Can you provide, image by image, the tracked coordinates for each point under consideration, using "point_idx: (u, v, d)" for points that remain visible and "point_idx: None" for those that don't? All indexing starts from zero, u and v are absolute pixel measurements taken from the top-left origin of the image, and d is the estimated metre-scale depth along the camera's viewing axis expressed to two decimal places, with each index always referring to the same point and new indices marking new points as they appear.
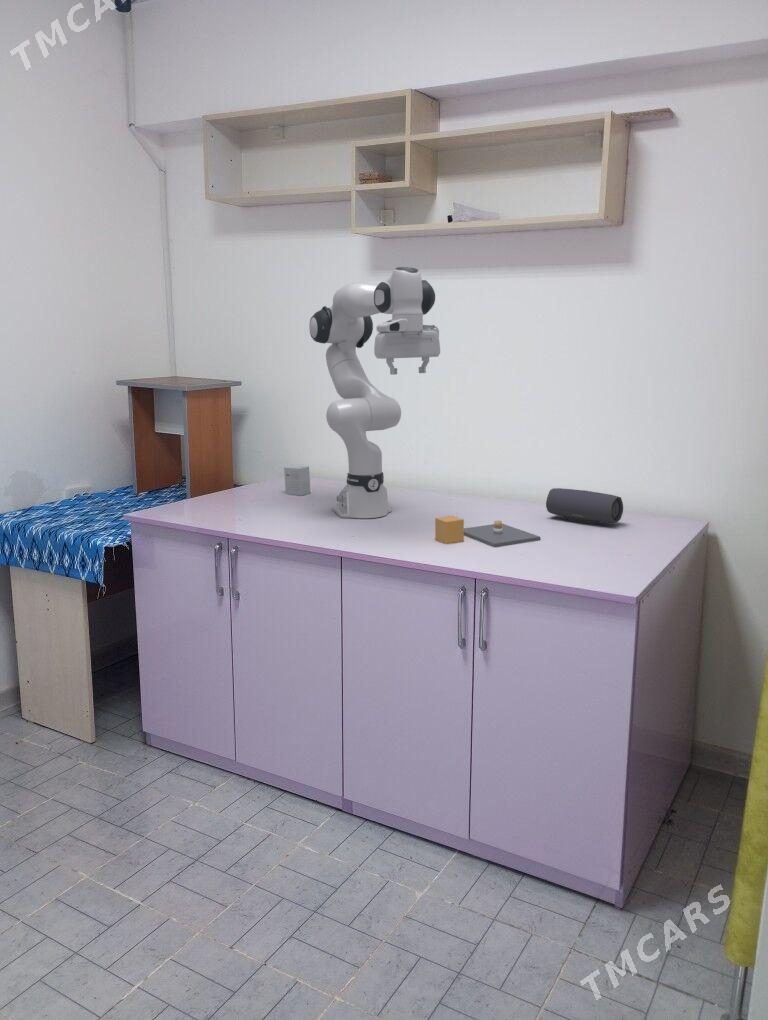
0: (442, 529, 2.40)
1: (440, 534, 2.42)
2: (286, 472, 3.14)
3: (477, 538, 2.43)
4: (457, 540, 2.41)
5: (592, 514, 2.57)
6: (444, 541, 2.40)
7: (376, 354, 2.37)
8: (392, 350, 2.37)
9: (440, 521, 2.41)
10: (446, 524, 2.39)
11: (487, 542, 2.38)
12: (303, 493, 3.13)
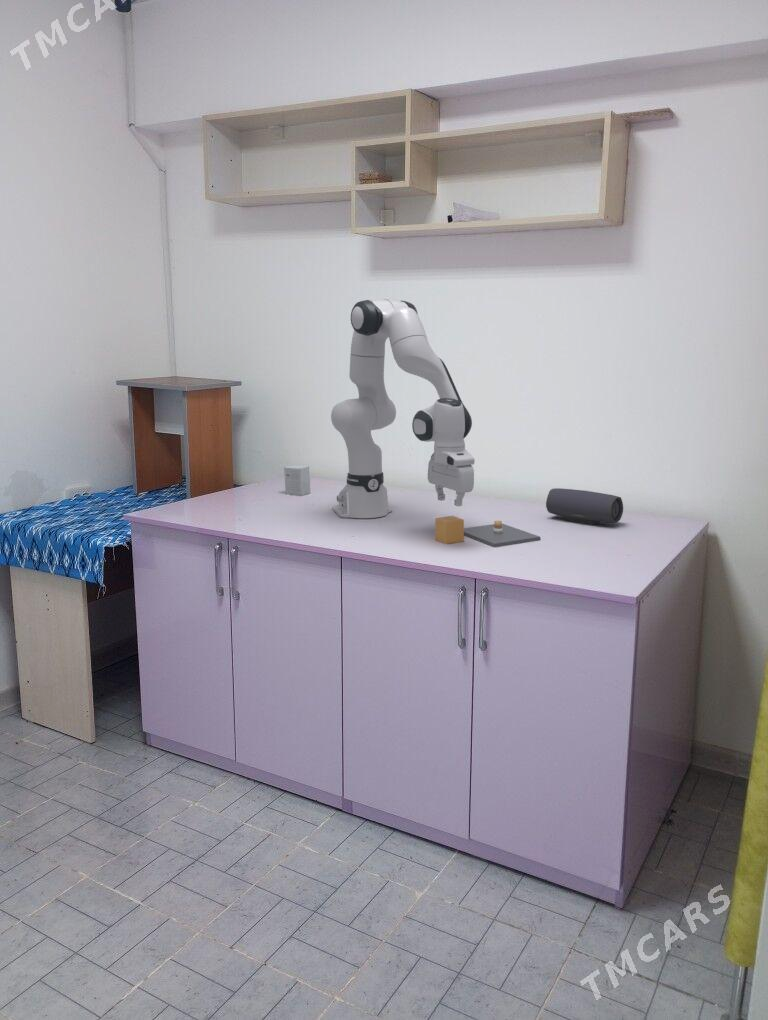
0: (442, 529, 2.40)
1: (440, 534, 2.42)
2: (286, 472, 3.14)
3: (477, 538, 2.43)
4: (457, 540, 2.41)
5: (592, 514, 2.57)
6: (444, 541, 2.40)
7: (467, 488, 2.31)
8: None
9: (440, 521, 2.41)
10: (446, 524, 2.39)
11: (487, 542, 2.38)
12: (303, 493, 3.13)
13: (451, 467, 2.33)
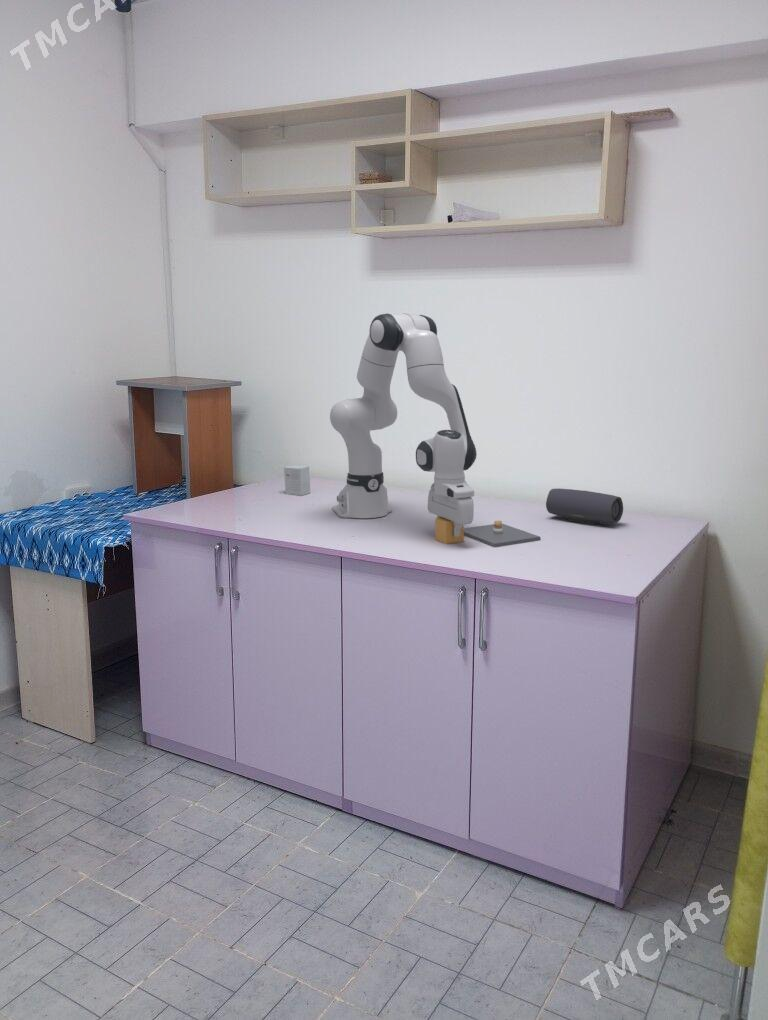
0: (442, 529, 2.40)
1: (440, 534, 2.42)
2: (286, 472, 3.14)
3: (477, 538, 2.43)
4: (457, 540, 2.41)
5: (592, 514, 2.57)
6: (444, 541, 2.40)
7: (467, 520, 2.33)
8: None
9: (440, 521, 2.41)
10: (446, 524, 2.39)
11: (487, 542, 2.38)
12: (303, 493, 3.13)
13: (451, 499, 2.35)
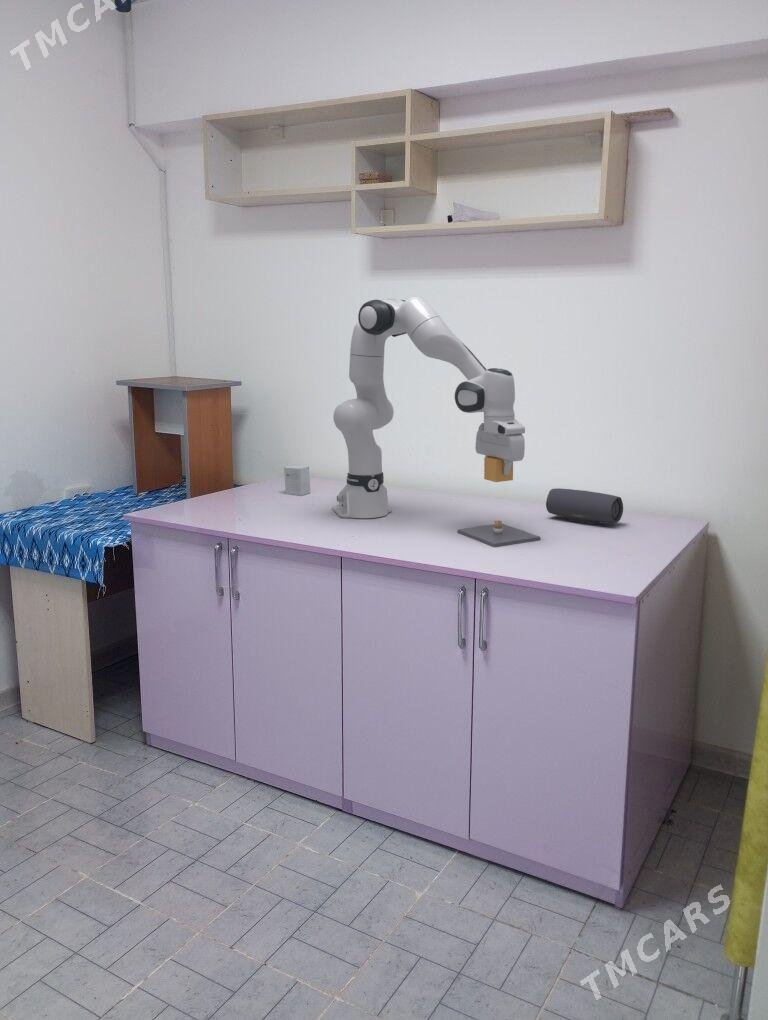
0: (492, 467, 2.40)
1: (489, 473, 2.42)
2: (286, 472, 3.14)
3: (477, 538, 2.43)
4: (507, 479, 2.41)
5: (592, 514, 2.57)
6: (494, 479, 2.40)
7: (518, 457, 2.33)
8: None
9: (490, 460, 2.41)
10: (496, 462, 2.39)
11: (487, 542, 2.38)
12: (303, 493, 3.13)
13: (502, 436, 2.35)
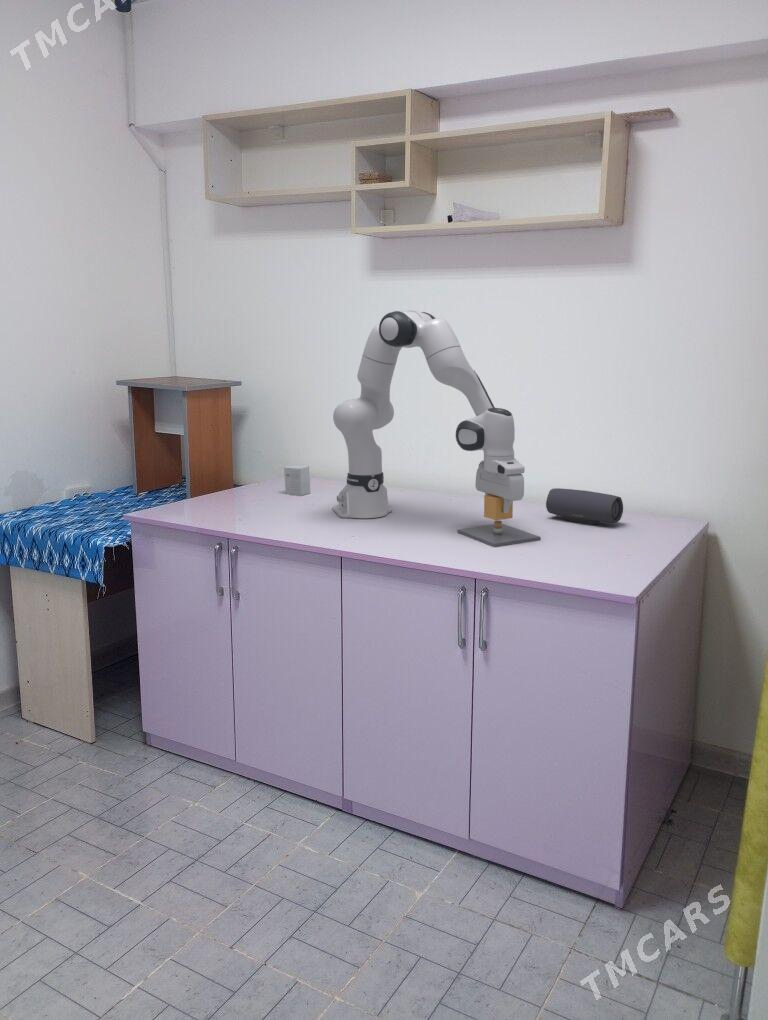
0: (492, 505, 2.43)
1: (489, 511, 2.44)
2: (286, 472, 3.14)
3: (477, 538, 2.43)
4: (506, 517, 2.44)
5: (592, 514, 2.57)
6: (494, 518, 2.43)
7: (518, 496, 2.36)
8: None
9: (489, 498, 2.44)
10: (496, 501, 2.41)
11: (487, 542, 2.38)
12: (303, 493, 3.13)
13: (501, 476, 2.37)
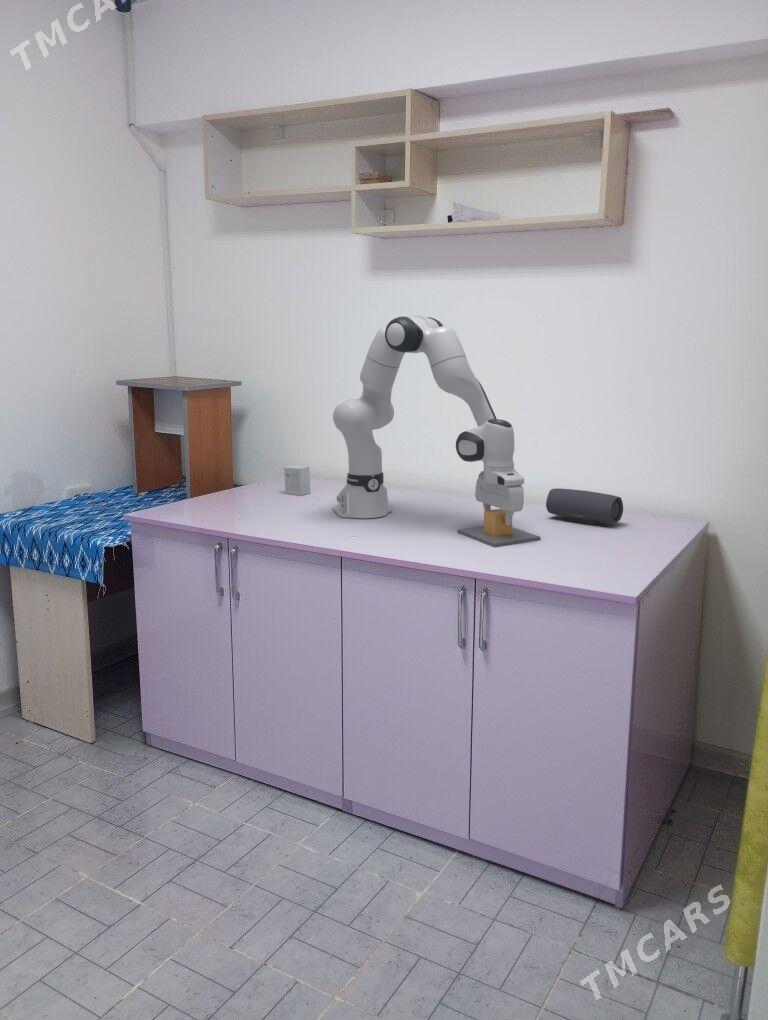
0: (491, 521, 2.44)
1: (489, 527, 2.46)
2: (286, 472, 3.14)
3: (477, 538, 2.43)
4: (506, 532, 2.45)
5: (592, 514, 2.57)
6: (493, 533, 2.44)
7: (517, 508, 2.36)
8: None
9: (489, 514, 2.45)
10: (495, 517, 2.42)
11: (487, 542, 2.38)
12: (303, 493, 3.13)
13: (501, 487, 2.38)
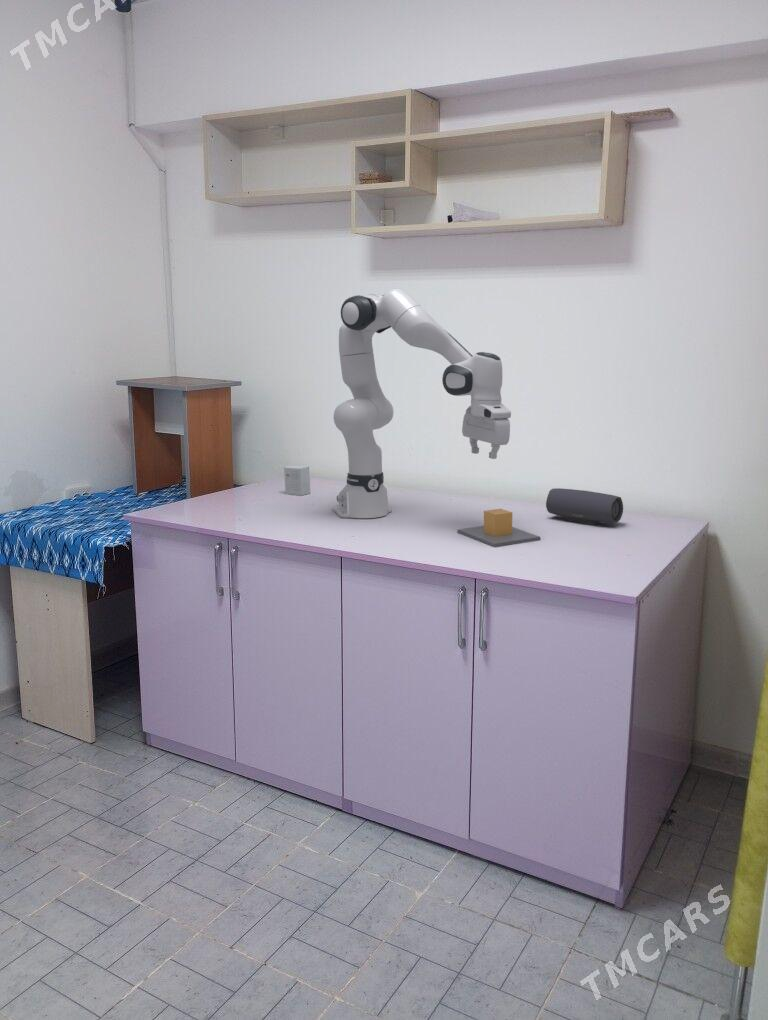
0: (491, 521, 2.44)
1: (489, 527, 2.46)
2: (286, 472, 3.14)
3: (477, 538, 2.43)
4: (506, 532, 2.45)
5: (592, 514, 2.57)
6: (493, 533, 2.44)
7: (503, 441, 2.36)
8: None
9: (489, 514, 2.45)
10: (495, 517, 2.42)
11: (487, 542, 2.38)
12: (303, 493, 3.13)
13: (488, 420, 2.37)
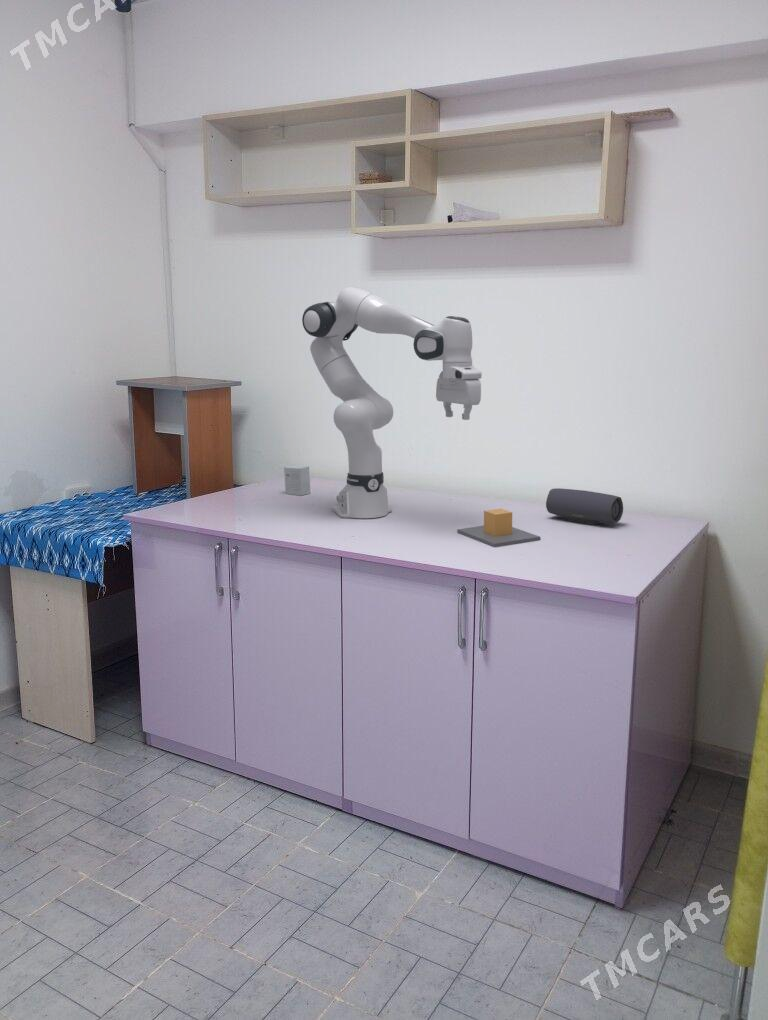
0: (491, 521, 2.44)
1: (489, 527, 2.46)
2: (286, 472, 3.14)
3: (477, 538, 2.43)
4: (506, 532, 2.45)
5: (592, 514, 2.57)
6: (493, 533, 2.44)
7: (474, 401, 2.41)
8: None
9: (489, 514, 2.45)
10: (495, 517, 2.42)
11: (487, 542, 2.38)
12: (303, 493, 3.13)
13: (459, 381, 2.43)
